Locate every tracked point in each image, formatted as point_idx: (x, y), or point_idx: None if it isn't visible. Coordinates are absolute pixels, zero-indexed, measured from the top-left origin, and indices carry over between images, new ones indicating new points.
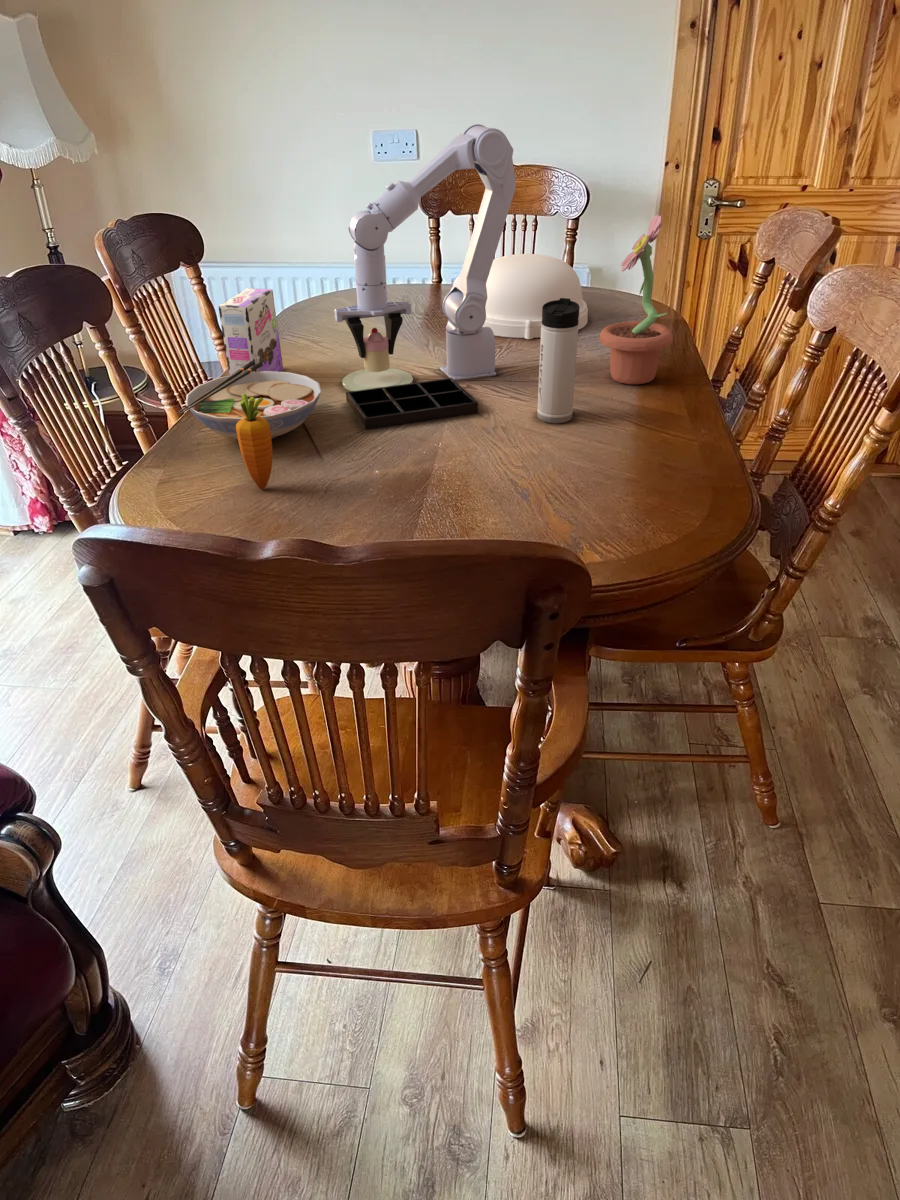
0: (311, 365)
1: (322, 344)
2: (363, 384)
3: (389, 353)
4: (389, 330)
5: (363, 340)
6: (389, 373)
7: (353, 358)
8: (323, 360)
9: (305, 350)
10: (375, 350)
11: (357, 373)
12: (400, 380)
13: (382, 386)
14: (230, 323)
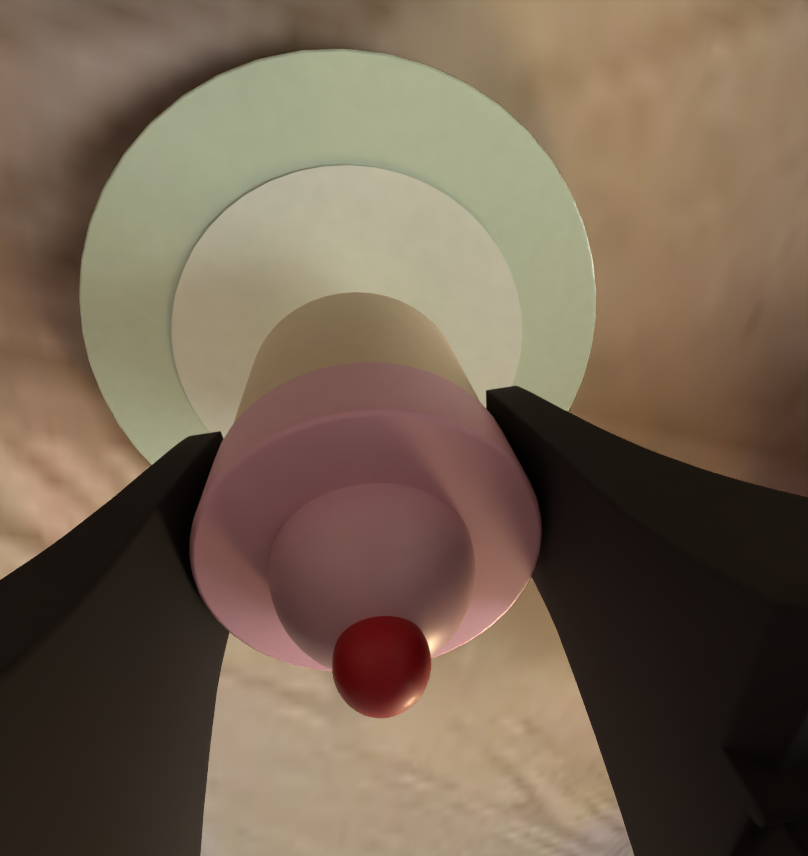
0: None
1: (513, 794)
2: (470, 270)
3: None
4: (124, 655)
5: (572, 466)
6: None
7: (427, 685)
8: (557, 675)
9: (589, 756)
10: (390, 364)
11: None
12: (180, 291)
13: (334, 182)
14: None
